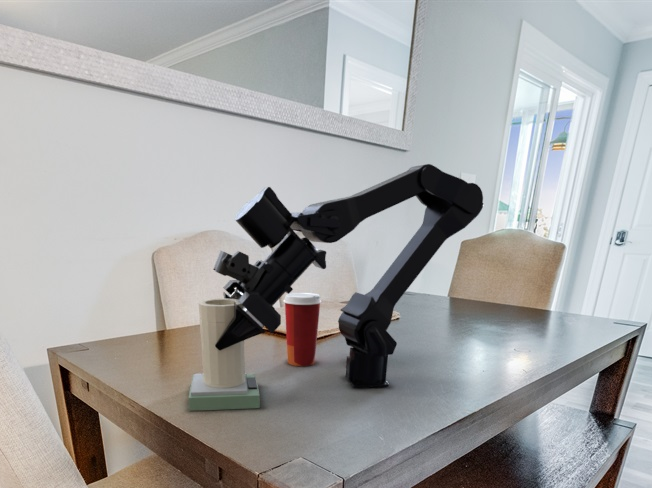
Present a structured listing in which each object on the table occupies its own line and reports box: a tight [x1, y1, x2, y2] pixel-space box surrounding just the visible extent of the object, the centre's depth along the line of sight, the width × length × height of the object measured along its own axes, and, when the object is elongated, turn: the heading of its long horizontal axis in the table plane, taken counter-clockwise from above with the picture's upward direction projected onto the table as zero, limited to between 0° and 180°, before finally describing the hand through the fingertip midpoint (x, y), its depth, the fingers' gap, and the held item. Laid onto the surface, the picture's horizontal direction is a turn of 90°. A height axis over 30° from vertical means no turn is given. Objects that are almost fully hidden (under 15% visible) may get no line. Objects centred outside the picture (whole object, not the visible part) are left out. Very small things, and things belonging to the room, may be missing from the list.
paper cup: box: [282, 292, 323, 367], centre depth 94 cm, size 8×8×14 cm
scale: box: [187, 372, 261, 412], centre depth 77 cm, size 11×11×3 cm
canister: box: [198, 298, 246, 388], centre depth 74 cm, size 7×7×13 cm
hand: (214, 342), depth 73 cm, fingers closed on canister, 7 cm apart
